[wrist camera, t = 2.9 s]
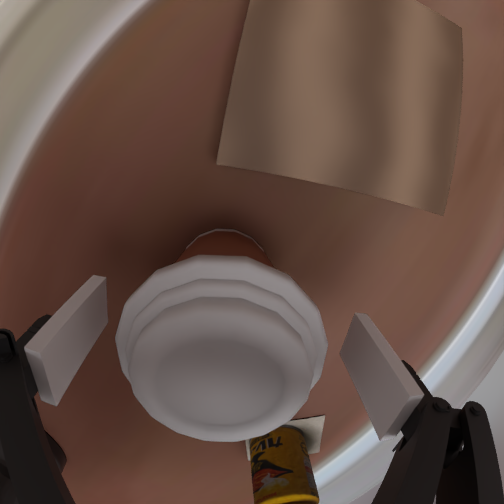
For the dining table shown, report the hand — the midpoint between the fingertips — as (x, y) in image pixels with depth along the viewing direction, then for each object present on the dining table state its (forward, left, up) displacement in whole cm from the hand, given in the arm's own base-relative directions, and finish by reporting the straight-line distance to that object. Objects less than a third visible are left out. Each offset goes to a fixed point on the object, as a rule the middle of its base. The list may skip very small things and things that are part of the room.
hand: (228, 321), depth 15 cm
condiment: (+9, -19, -7) cm, 22 cm away
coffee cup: (0, 0, -7) cm, 7 cm away
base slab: (+6, +15, -7) cm, 17 cm away
